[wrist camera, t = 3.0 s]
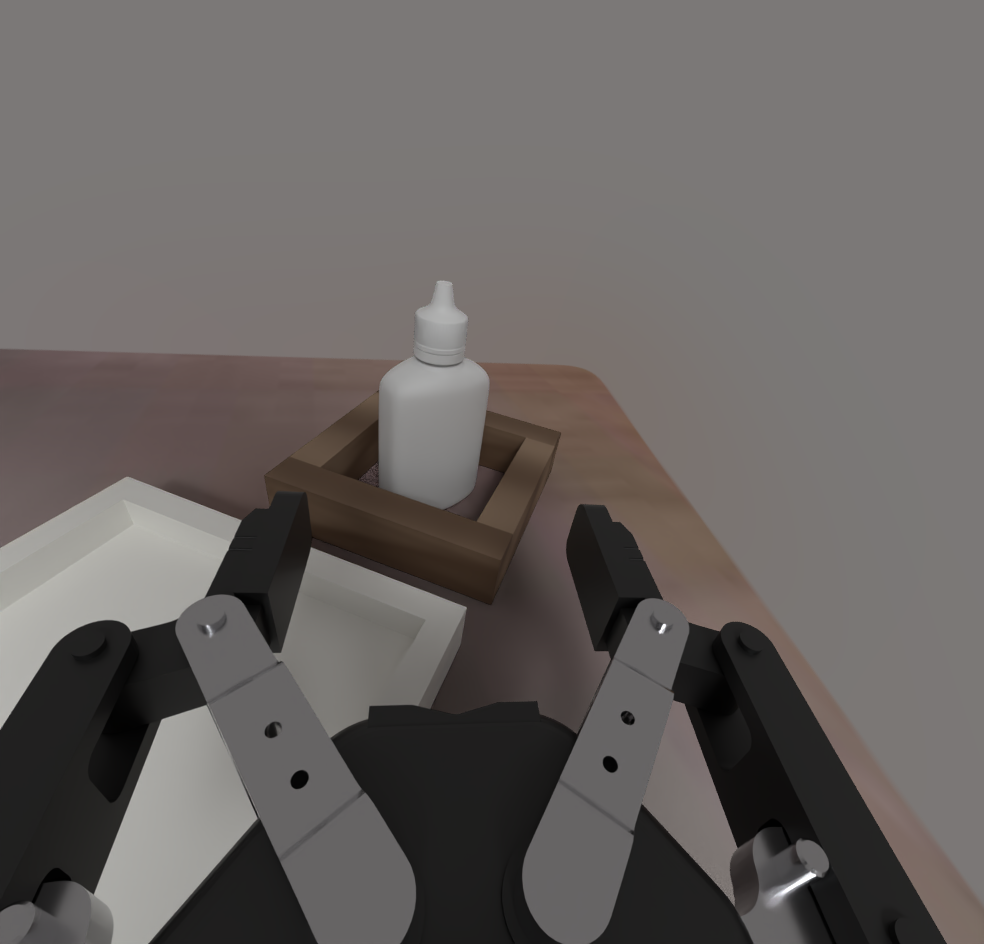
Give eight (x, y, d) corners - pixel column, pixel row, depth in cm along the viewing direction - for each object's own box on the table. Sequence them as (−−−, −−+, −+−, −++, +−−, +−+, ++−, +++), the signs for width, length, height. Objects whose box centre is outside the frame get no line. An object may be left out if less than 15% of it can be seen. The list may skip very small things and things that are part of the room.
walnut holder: (491, 605, 22) (500, 560, 20) (272, 521, 24) (264, 475, 23) (551, 470, 31) (561, 432, 30) (389, 420, 34) (390, 381, 32)
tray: (132, 1338, 8) (80, 1384, 7) (-417, 882, 12) (-534, 849, 10) (460, 644, 20) (467, 607, 19) (143, 516, 23) (127, 476, 22)
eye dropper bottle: (381, 470, 29) (381, 263, 22) (471, 473, 30) (499, 276, 23) (377, 519, 26) (375, 291, 18) (479, 520, 27) (515, 305, 20)
